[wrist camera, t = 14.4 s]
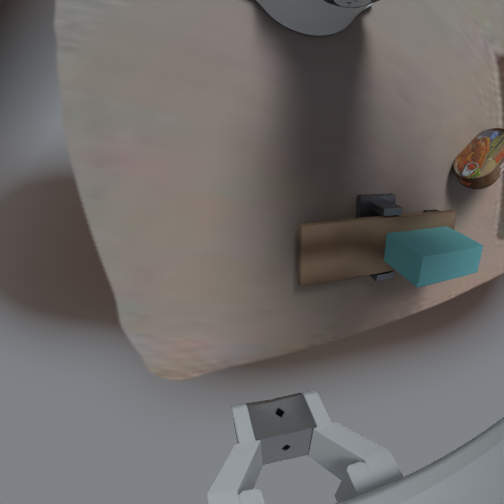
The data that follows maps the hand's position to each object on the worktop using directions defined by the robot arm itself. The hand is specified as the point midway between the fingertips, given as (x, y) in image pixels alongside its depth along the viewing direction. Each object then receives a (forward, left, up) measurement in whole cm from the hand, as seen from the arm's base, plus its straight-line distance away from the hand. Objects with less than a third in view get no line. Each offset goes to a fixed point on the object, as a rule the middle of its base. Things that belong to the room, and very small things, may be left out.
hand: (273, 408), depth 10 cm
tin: (-6, +44, -31) cm, 54 cm away
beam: (+7, +23, -27) cm, 36 cm away
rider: (+7, +28, -26) cm, 39 cm away
